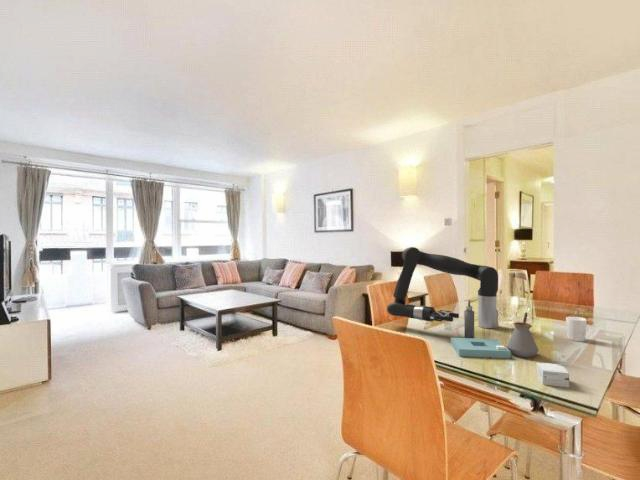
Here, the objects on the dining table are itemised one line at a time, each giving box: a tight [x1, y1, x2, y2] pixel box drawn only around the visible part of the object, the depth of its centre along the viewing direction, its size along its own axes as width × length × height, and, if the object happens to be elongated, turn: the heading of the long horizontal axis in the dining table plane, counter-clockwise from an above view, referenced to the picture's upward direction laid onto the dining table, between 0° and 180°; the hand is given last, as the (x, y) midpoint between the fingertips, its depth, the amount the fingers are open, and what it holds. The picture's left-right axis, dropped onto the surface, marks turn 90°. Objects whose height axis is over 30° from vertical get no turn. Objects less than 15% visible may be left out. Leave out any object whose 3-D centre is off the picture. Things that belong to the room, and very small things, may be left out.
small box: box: [536, 362, 570, 388], centre depth 116 cm, size 8×8×5 cm
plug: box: [463, 299, 476, 338], centre depth 162 cm, size 4×4×19 cm
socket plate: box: [450, 337, 512, 359], centre depth 147 cm, size 20×16×4 cm
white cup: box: [565, 316, 588, 342], centre depth 160 cm, size 8×8×10 cm
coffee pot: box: [506, 312, 539, 358], centre depth 146 cm, size 21×12×15 cm, turn 142°
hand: (455, 317), depth 166 cm, fingers open, 8 cm apart
